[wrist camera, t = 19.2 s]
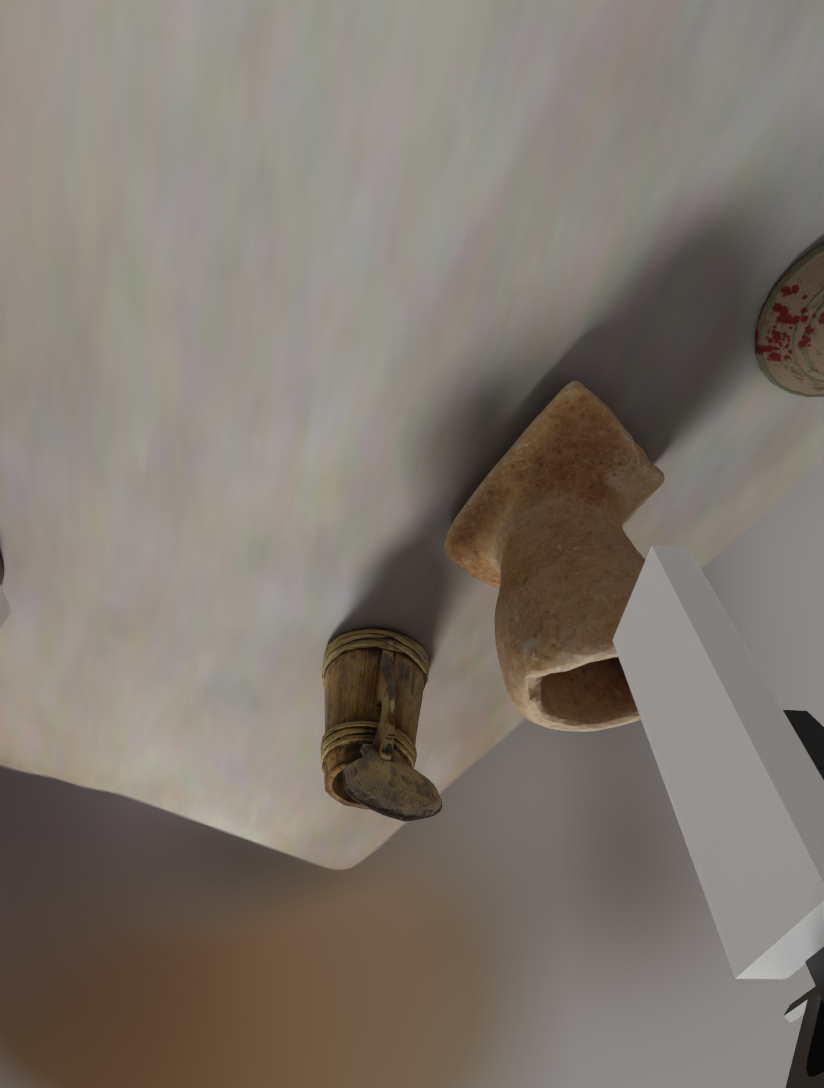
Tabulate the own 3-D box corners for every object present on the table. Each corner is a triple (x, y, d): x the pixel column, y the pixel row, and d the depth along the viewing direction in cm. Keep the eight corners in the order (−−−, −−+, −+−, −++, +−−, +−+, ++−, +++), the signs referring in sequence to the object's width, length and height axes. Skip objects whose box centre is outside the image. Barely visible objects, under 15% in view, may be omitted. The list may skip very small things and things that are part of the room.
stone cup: (550, 603, 48) (593, 783, 37) (421, 536, 44) (421, 714, 33) (707, 459, 40) (825, 632, 29) (565, 362, 36) (635, 515, 25)
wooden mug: (465, 602, 48) (484, 833, 34) (409, 706, 56) (406, 927, 42) (353, 574, 47) (324, 804, 33) (312, 685, 55) (274, 908, 41)
